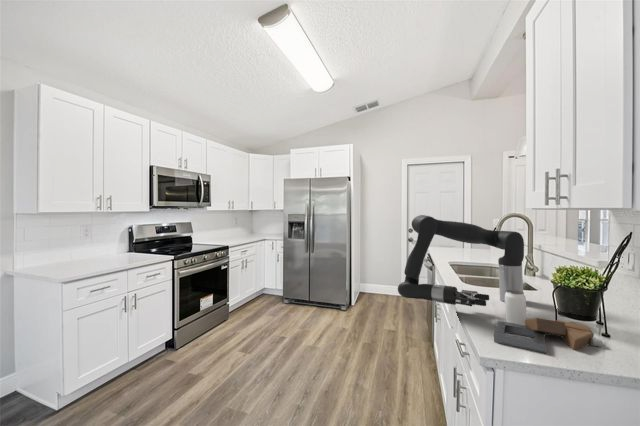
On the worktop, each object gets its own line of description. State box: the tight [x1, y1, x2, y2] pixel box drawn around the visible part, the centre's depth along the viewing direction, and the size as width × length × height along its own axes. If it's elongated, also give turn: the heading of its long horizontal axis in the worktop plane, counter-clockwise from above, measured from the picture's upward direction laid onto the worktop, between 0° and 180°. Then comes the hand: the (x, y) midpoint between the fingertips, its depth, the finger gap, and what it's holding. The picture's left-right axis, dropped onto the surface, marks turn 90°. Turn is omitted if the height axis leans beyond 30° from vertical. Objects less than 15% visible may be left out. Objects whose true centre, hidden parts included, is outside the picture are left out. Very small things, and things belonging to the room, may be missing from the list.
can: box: [504, 290, 528, 325], centre depth 102 cm, size 6×6×12 cm
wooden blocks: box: [525, 317, 604, 351], centre depth 88 cm, size 8×13×18 cm
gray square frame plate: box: [493, 320, 547, 354], centre depth 90 cm, size 14×13×2 cm
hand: (487, 300), depth 108 cm, fingers open, 8 cm apart
